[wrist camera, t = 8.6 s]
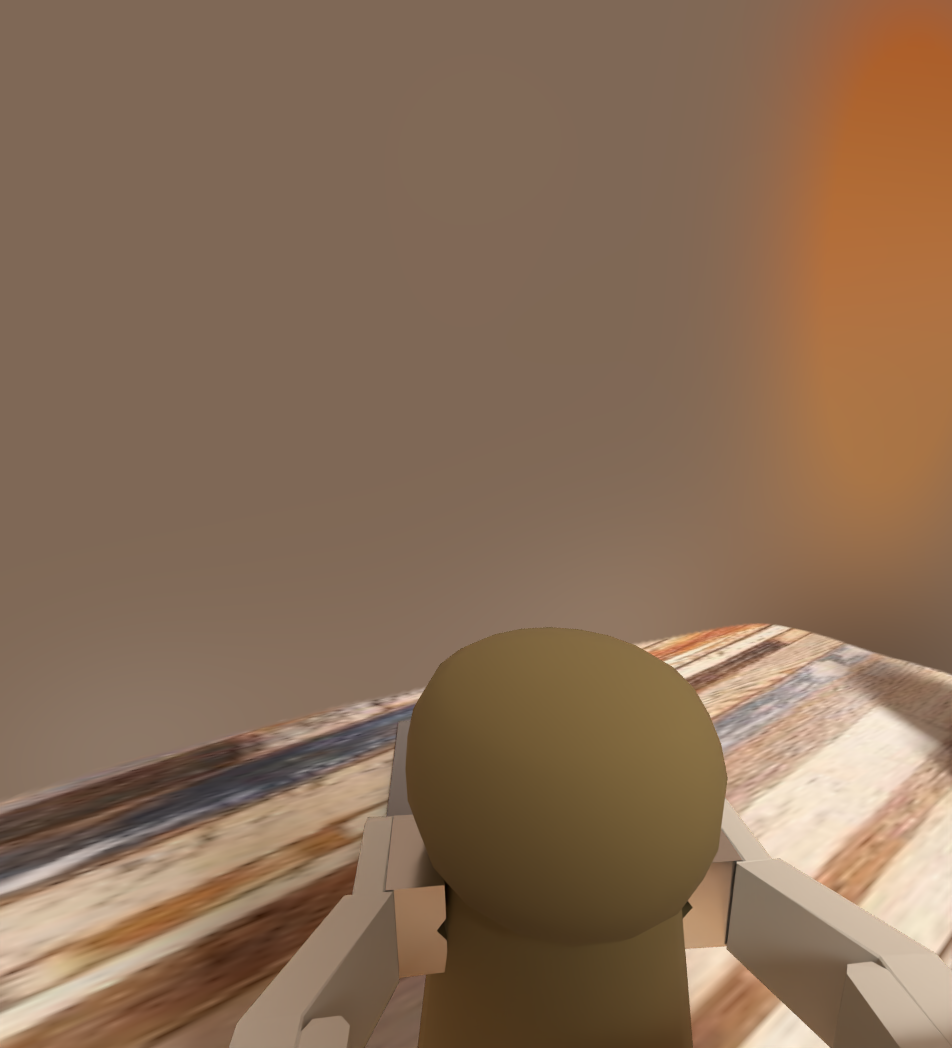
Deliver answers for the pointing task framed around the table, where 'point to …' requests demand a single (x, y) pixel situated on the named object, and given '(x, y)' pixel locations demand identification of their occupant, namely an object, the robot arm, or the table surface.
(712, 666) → the table surface
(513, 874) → the cork
